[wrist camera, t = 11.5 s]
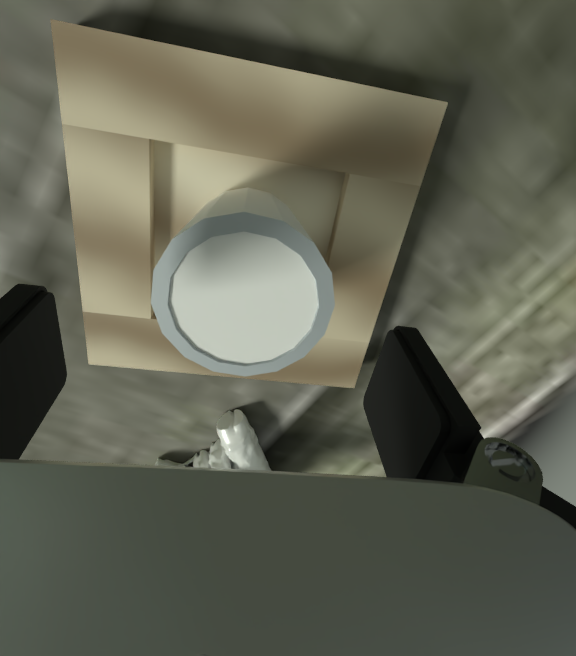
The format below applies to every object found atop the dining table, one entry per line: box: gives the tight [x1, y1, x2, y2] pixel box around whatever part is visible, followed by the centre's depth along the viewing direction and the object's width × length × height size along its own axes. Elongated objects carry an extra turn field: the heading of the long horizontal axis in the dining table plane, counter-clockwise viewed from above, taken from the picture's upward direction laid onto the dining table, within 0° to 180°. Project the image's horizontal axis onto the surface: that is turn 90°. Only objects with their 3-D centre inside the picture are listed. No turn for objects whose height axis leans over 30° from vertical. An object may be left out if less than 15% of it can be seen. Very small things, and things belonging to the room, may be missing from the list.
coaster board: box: [51, 19, 448, 388], centre depth 21 cm, size 16×16×2 cm
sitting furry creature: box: [155, 409, 272, 471], centre depth 26 cm, size 10×9×12 cm
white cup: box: [151, 187, 335, 376], centre depth 17 cm, size 7×7×7 cm
